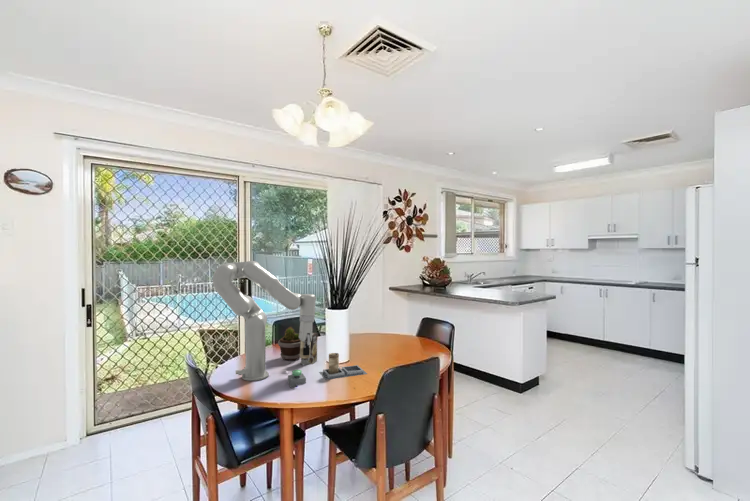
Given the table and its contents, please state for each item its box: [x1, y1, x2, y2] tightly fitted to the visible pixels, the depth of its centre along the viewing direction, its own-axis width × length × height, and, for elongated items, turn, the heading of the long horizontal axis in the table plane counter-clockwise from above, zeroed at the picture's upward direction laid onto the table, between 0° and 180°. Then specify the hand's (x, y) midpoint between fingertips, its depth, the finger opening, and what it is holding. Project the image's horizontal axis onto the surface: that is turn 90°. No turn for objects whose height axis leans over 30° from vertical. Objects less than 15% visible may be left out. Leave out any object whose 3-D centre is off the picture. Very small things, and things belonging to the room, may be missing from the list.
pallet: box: [318, 364, 368, 381], centre depth 183 cm, size 22×12×3 cm, turn 113°
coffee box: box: [300, 332, 318, 366], centre depth 204 cm, size 9×6×16 cm
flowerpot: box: [277, 326, 301, 362], centre depth 212 cm, size 14×15×20 cm
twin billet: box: [328, 352, 340, 374], centre depth 181 cm, size 5×5×10 cm
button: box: [291, 369, 303, 378], centre depth 171 cm, size 4×4×4 cm
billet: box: [299, 340, 311, 359], centre depth 186 cm, size 5×5×10 cm
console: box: [287, 373, 307, 389], centre depth 171 cm, size 7×7×4 cm
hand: (304, 353), depth 186 cm, fingers closed on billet, 5 cm apart
